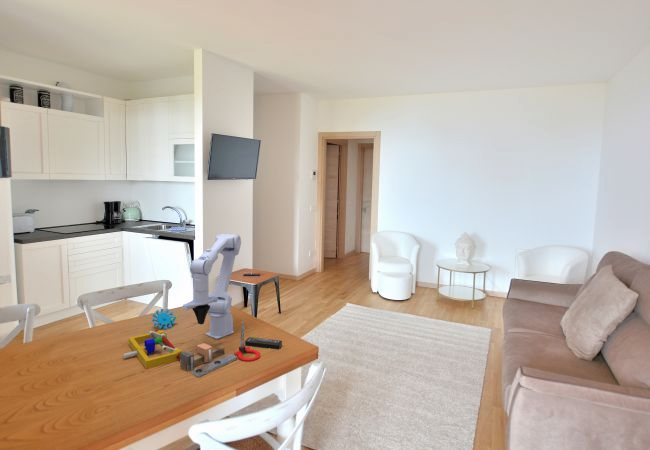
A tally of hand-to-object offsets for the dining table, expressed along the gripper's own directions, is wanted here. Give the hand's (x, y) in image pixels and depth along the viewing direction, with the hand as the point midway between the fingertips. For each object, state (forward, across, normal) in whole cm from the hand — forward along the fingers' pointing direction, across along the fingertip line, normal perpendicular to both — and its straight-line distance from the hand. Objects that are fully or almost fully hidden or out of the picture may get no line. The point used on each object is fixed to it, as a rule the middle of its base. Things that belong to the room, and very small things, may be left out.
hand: (200, 323), depth 155 cm
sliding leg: (+11, +5, +9) cm, 15 cm away
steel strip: (+11, +5, +16) cm, 20 cm away
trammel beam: (+11, +5, +9) cm, 15 cm away
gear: (+10, -4, -31) cm, 33 cm away
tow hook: (+11, -8, +19) cm, 23 cm away
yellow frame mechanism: (+11, +14, -14) cm, 22 cm away
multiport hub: (+11, -18, +16) cm, 27 cm away
